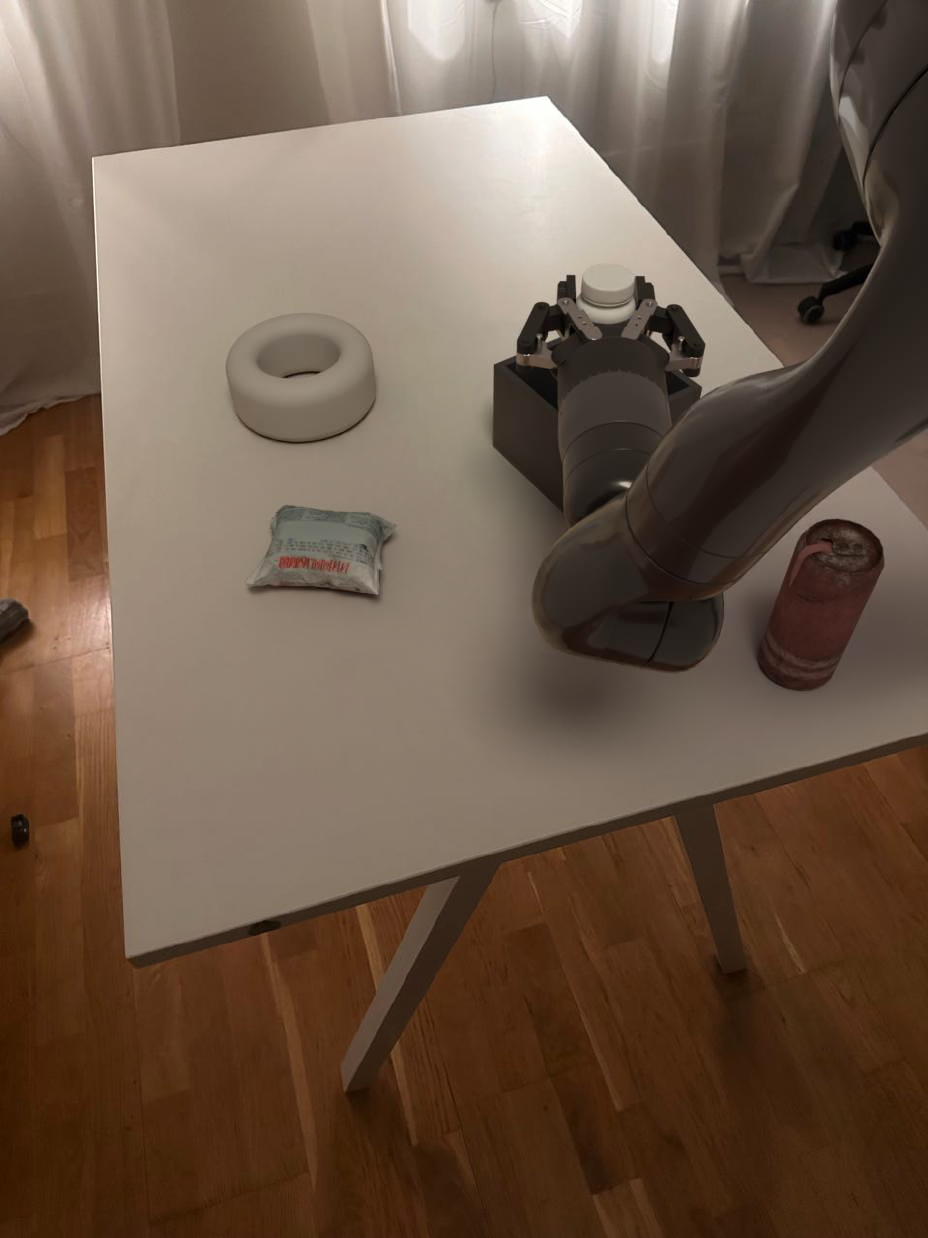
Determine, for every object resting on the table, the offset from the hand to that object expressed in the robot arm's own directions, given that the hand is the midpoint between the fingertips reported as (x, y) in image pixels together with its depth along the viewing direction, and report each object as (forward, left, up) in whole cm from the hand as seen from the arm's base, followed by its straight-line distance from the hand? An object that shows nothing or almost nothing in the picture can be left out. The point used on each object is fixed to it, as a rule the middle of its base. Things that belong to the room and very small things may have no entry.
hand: (603, 286), depth 76 cm
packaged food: (+26, -4, -22) cm, 34 cm away
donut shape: (+16, -27, -22) cm, 38 cm away
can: (-1, +26, -22) cm, 34 cm away
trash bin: (-3, -3, -22) cm, 22 cm away
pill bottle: (+2, +2, -6) cm, 7 cm away
